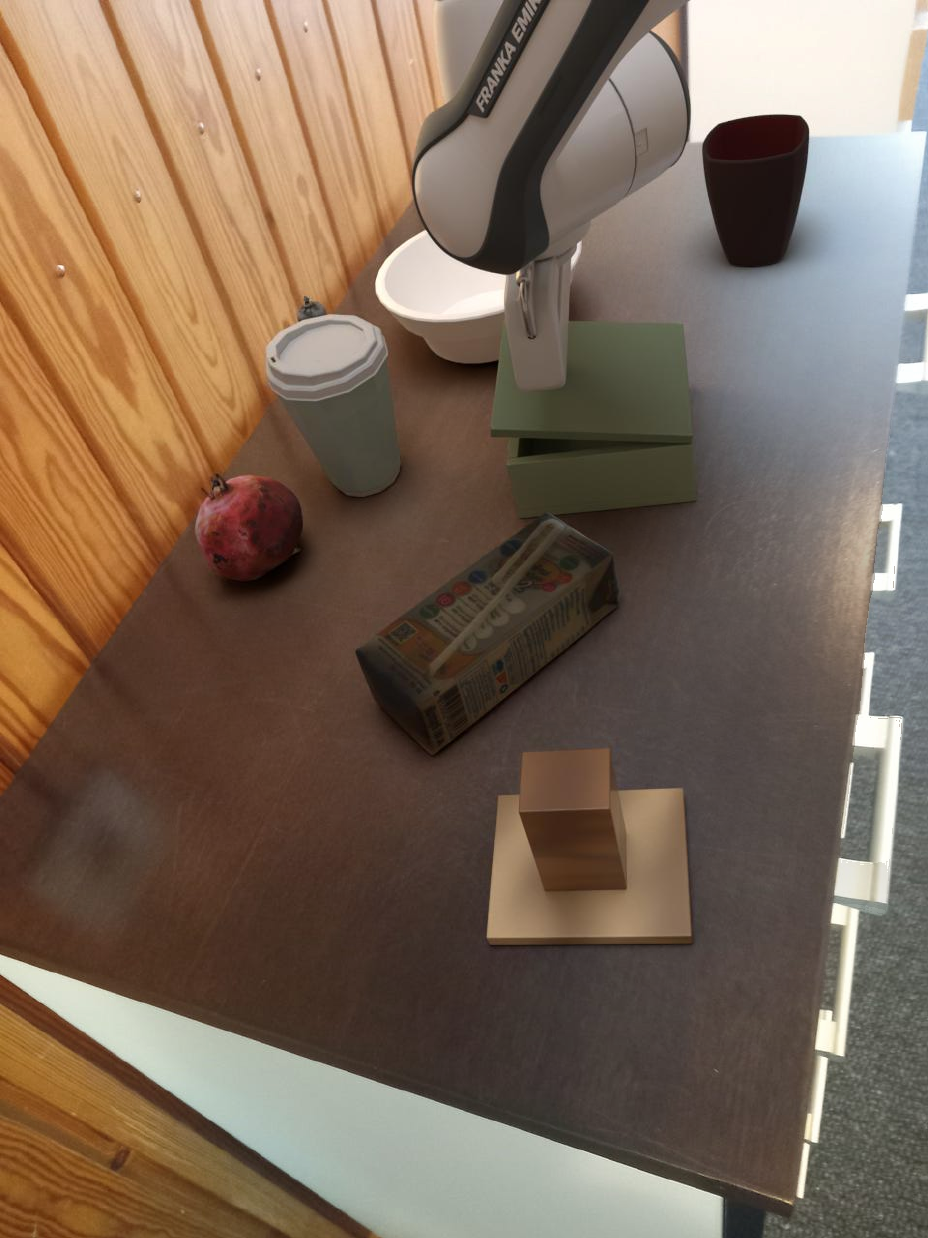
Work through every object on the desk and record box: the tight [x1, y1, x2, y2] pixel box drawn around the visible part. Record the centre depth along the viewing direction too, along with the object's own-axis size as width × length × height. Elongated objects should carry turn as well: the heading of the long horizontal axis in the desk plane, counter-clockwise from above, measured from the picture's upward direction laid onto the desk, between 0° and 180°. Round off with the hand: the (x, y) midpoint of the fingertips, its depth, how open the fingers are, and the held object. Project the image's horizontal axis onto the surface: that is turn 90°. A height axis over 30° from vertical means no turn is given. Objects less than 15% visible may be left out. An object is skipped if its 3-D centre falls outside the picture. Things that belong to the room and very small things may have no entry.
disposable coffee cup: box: [264, 313, 402, 498], centre depth 91 cm, size 11×11×15 cm
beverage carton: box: [354, 512, 620, 756], centre depth 75 cm, size 8×19×7 cm, turn 130°
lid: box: [490, 320, 694, 443], centre depth 86 cm, size 16×16×1 cm
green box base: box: [505, 437, 698, 519], centre depth 89 cm, size 15×16×6 cm
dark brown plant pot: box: [701, 113, 810, 267], centre depth 105 cm, size 10×14×12 cm
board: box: [486, 787, 694, 946], centre depth 64 cm, size 12×10×1 cm
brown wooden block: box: [519, 747, 627, 891], centre depth 60 cm, size 5×4×9 cm
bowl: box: [374, 229, 583, 364], centre depth 106 cm, size 21×21×8 cm
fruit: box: [194, 471, 304, 582], centre depth 88 cm, size 9×10×10 cm
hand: (556, 370), depth 85 cm, fingers closed
